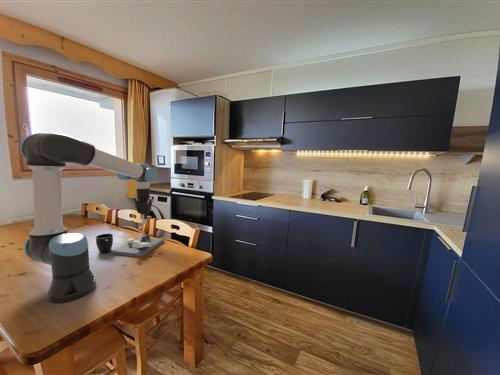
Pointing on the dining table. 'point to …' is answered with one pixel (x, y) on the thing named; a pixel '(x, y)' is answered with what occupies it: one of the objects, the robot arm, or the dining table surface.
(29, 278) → the dining table surface
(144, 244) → the rocker
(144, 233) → the lever
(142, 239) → the panel
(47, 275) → the dining table surface
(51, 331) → the dining table surface
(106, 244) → the mug
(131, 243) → the button
